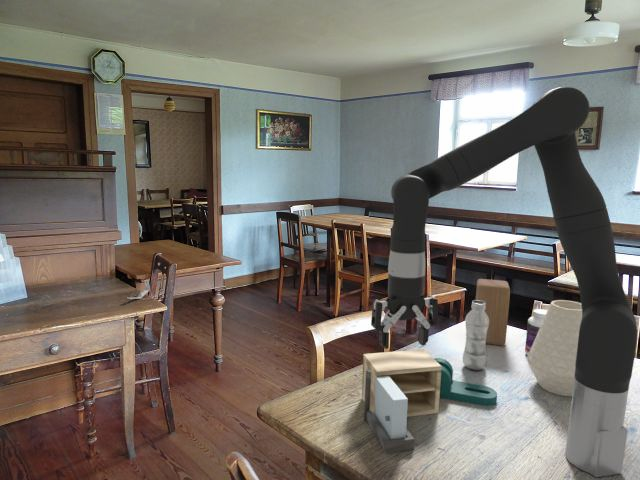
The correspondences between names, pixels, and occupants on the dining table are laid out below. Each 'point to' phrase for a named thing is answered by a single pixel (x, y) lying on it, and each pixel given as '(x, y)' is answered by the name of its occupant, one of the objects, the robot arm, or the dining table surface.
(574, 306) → the vase
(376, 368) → the wooden caddy
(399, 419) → the door
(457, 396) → the bracket
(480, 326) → the plastic bottle
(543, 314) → the pill bottle
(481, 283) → the wooden block
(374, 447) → the dining table surface
